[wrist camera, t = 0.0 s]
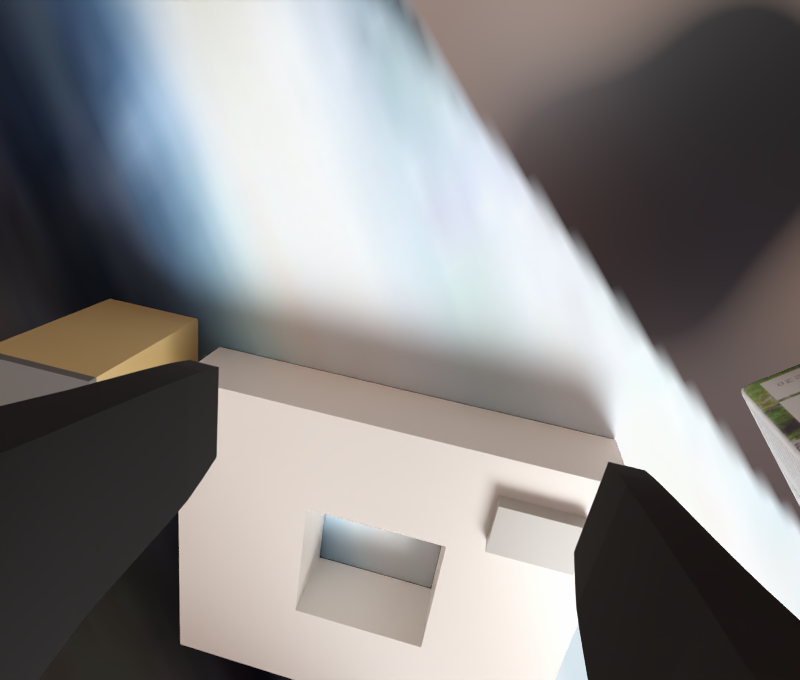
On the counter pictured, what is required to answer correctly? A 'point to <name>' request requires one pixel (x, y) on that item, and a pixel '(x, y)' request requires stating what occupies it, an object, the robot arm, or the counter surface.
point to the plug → (93, 348)
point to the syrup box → (779, 419)
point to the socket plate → (388, 510)
